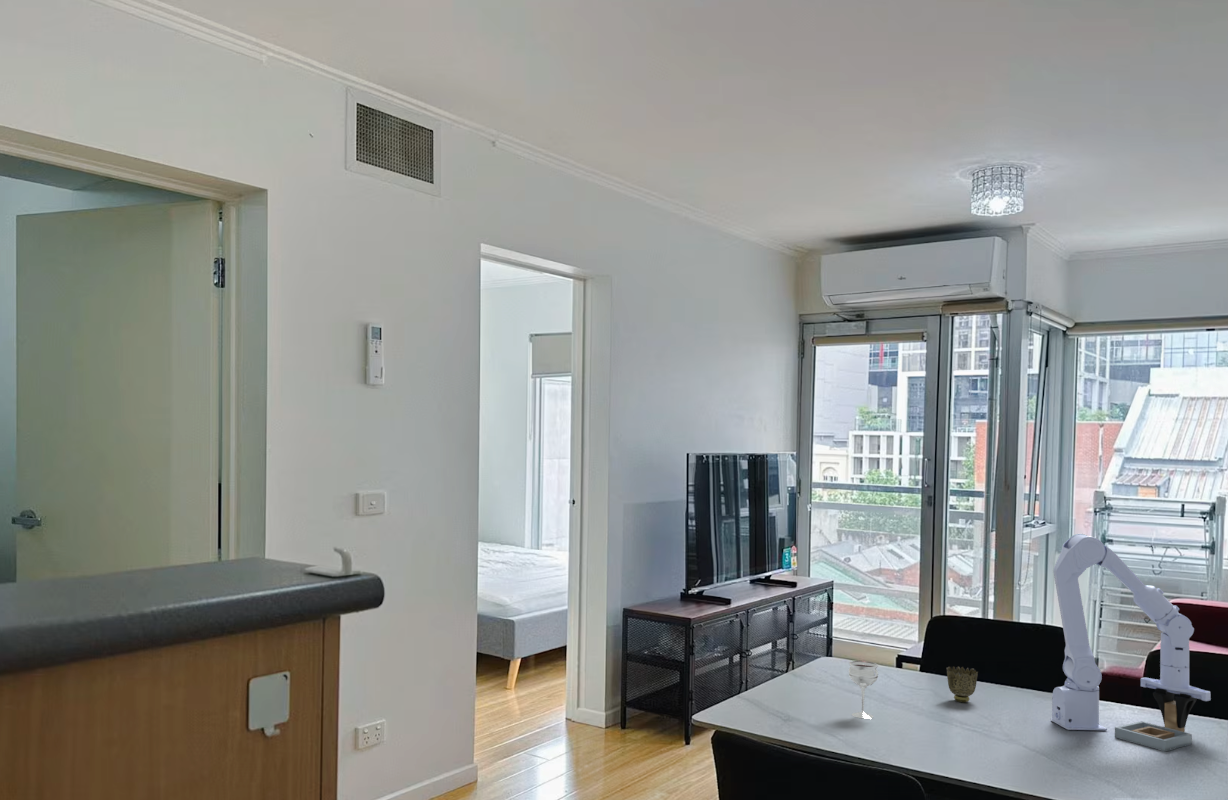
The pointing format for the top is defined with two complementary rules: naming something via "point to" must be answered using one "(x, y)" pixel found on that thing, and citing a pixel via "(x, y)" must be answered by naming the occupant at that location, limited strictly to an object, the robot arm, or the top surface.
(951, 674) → the cup
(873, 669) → the wineglass
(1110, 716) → the top surface
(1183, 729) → the tan wooden tall block
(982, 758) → the top surface
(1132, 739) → the grey tray
